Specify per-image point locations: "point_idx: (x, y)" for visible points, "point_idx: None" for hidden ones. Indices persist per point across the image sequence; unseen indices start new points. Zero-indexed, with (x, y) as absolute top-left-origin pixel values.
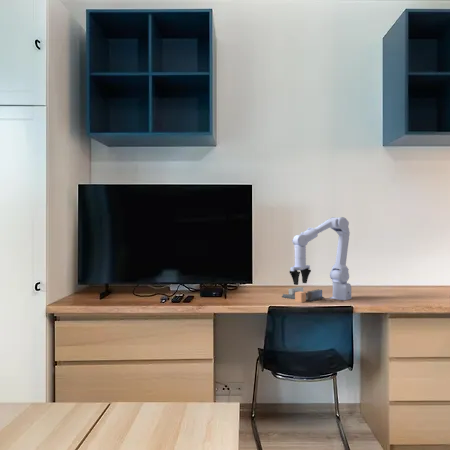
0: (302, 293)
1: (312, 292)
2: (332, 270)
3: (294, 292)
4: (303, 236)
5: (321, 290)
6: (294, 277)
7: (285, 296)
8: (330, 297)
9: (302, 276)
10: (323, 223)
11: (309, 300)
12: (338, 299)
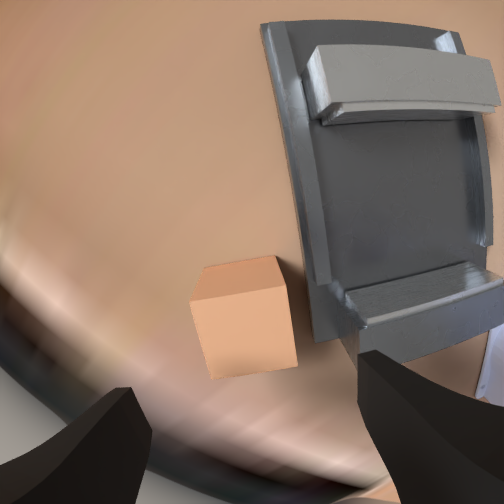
0: (233, 372)
1: None
2: None
3: (350, 117)
4: None
5: (494, 324)
6: (74, 479)
7: (269, 61)
8: None
9: (412, 420)
10: None
11: (313, 336)
12: (482, 367)
